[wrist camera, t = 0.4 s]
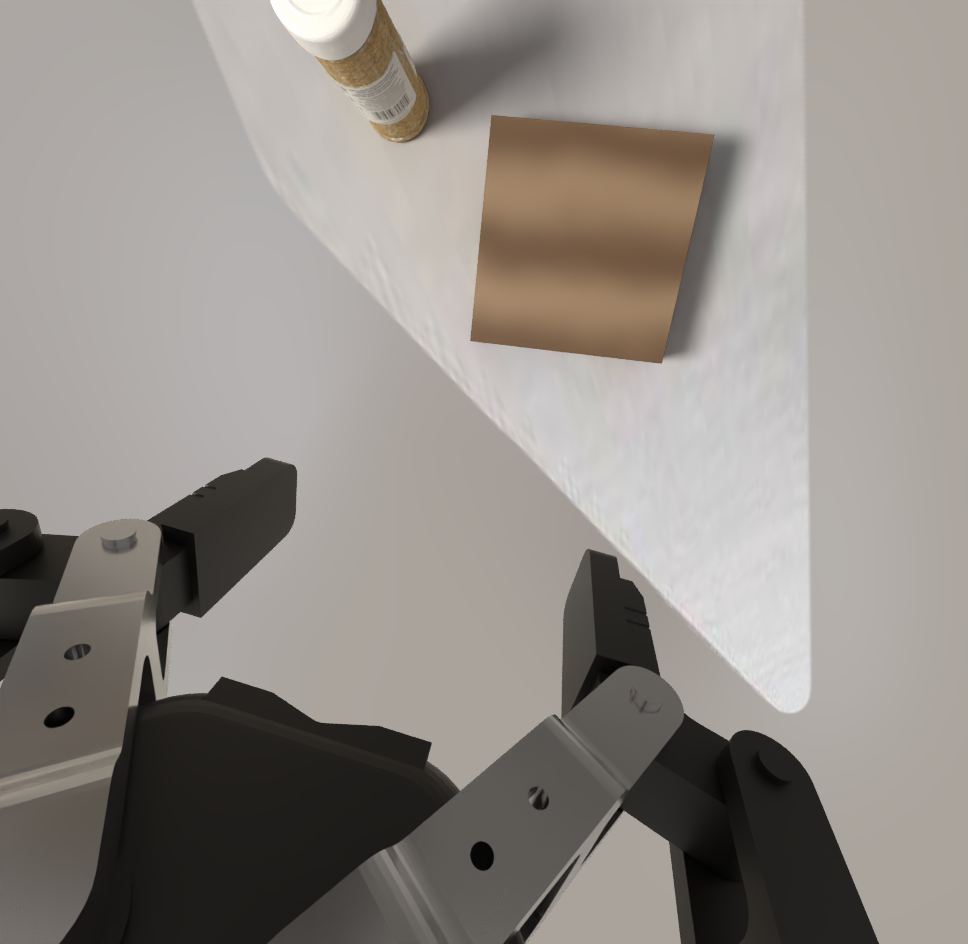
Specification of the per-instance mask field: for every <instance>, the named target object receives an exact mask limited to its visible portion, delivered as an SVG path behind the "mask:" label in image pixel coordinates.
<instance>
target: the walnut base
mask: <svg viewBox="0 0 968 944" xmlns="http://www.w3.org/2000/svg"><path fill="white" fill-rule="evenodd" d="M713 139H714V135H711V134H700V133H689V132H677V131H666V130H654V129H643V128H631V127H620V126H609V125H597V124H586V123H574V122H563V121H551V120H540V119H529V118H517V117H506V116H494V115H492V116H491V127H490V138H489V148H488V159H487V170H486V180H485V191H484V202H483V212H482V223H481V234H480V244H479V255H478V266H477V276H476V287H475V298H474V308H473V319H472V330H471V340H470V341H475V342H483V343H492V344H500V345H509V346H517V347H526V348H534V349H543V350H551V351H560V352H568V353H577V354H585V355H594V356H602V357H611V358H619V359H628V360H636V361H644V362H653V363H661V364H662V360H663V356H664V352H665V347H666V343H667V339H668V334H669V330H670V326H671V321H672V317H673V313H674V308H675V304H676V300H677V295H678V291H679V287H680V282H681V278H682V274H683V269H684V265H685V261H686V256H687V252H688V248H689V243H690V239H691V235H692V230H693V226H694V222H695V217H696V213H697V209H698V204H699V200H700V196H701V191H702V187H703V183H704V178H705V174H706V170H707V165H708V161H709V157H710V152H711V148H712V144H713Z"/></svg>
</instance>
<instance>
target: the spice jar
mask: <svg viewBox="0 0 968 944" xmlns="http://www.w3.org/2000/svg"><path fill="white" fill-rule="evenodd" d="M270 2H271V4H272V6H273V8H274V11H275V13H276V14H277V16H278V18H279V19H280V21H281V22H282V23H283V25H284V26H285V27H286V28H287V30H288V31H289V32H290V33H291V35H292V36H293V37H294V38H295V39H296V40H297V42H298V43H299V44H300V45H301V46H302V47H303V48H304V49H305V50H307V51H308V52H309V53H311V54H313V55H314V56H315V57H316V58H317V59H318V61H319V62H320V63H321V64H322V65H323V67H324V68H325V70H326V71H327V73H328V74H329V75H330V77H331V78H332V79H333V80H334V81H335V83H336V84H337V85H338V86H339V87H340V88H341V90H342V91H343V92H344V93H345V94H346V95H347V96H348V98H349V99H350V100H351V101H352V102H353V103H354V105H355V106H356V107H357V108H358V109H359V111H360V112H361V113H362V114H363V115H364V116H365V117H366V118H368V120H369V121H370V123H371V125H372V126H373V128H374V129H375V131H376V132H377V133H379V134H380V135H381V136H382V137H383V138H385V139H387V140H389V141H392V142H397V143H399V142H405V141H408V140H410V139H412V138H414V137H415V136H416V135H417V134H418V133H419V132H420V131H421V130H422V128H423V127H424V125H425V122H426V120H427V116H428V112H429V98H428V92H427V90H426V87H425V85H424V82H423V80H422V78H421V77H420V76H419V75H418V74H417V72H416V69H415V66H414V63H413V61H412V59H411V57H410V55H409V53H408V51H407V49H406V46H405V45H404V43H403V41H402V39H401V37H400V35H399V33H398V32H397V30H396V29H395V27H394V25H393V23H392V21H391V19H390V17H389V15H388V13H387V11H386V9H385V7H384V5H383V3H382V0H270Z"/></svg>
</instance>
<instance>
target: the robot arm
mask: <svg viewBox="0 0 968 944" xmlns="http://www.w3.org/2000/svg"><path fill="white" fill-rule="evenodd" d="M296 488H297V470H296V467H295V466H294V465H292V464H288V463H285V462H281V461H277V460H274V459H271V458H263V459H261V460H260V461H258V462H257V463H255V464H254V465H252V466H251V467H249V468H247V469H246V470H242V469H241V470H238V471H235V472H231V473H228V474H224V475H221V476H220V477H218V478H216V479H214V480H213V481H211V482H209V483H208V484H206V486H205V487H201V488H200V489H198V490H196V491H195V492H193V494H192V495H188V496H187V497H185V498H183V499H182V500H180V501H178V502H177V503H175V504H174V505H172V506H170V507H169V508H167V509H165V510H164V511H162V512H161V513H159V514H157V515H156V516H154V517H152V518H151V519H149V520H147V521H145V520H139V519H121V520H115V521H109V522H106V523H102V524H99V525H96V526H94V527H92V528H90V529H88V530H86V531H85V532H83V533H82V534H81V535H80V536H66V535H50V534H41V530H40V526H39V522H38V519H37V517H36V516H35V515H33V514H32V513H30V512H26V511H23V510H15V509H0V681H1V680H3V679H4V680H3V682H2V685H1V688H0V944H526V943H527V942H528V941H529V940H530V938H531V937H532V936H533V934H534V933H535V932H536V930H537V929H538V928H539V926H540V925H541V924H542V922H543V921H544V920H545V918H546V917H547V916H548V914H549V913H550V912H551V910H552V909H553V907H554V906H555V904H556V903H557V902H558V900H559V899H560V898H561V896H562V895H563V893H564V892H565V890H566V889H567V887H568V886H569V884H570V883H571V882H572V880H573V879H574V878H575V876H576V875H577V874H578V872H579V871H580V870H581V868H582V867H583V866H584V864H585V863H586V862H587V861H588V859H589V858H590V857H591V855H592V854H593V853H594V851H595V850H596V849H597V847H598V846H599V845H600V843H601V842H602V841H603V839H604V838H605V837H606V835H607V834H608V833H609V831H610V830H611V829H612V827H613V826H614V825H615V824H616V822H617V821H618V820H619V818H620V817H621V816H622V815H623V813H624V812H625V811H626V812H627V813H628V814H630V815H631V816H633V817H634V818H636V819H637V820H639V821H640V822H642V823H643V824H644V825H646V826H647V827H649V828H650V829H652V830H653V831H655V832H656V833H658V834H659V835H660V836H662V837H663V838H665V839H666V840H668V841H669V844H670V854H671V862H672V870H673V879H674V887H675V895H676V904H677V913H678V921H679V930H680V938H681V944H879V943H878V941H877V938H876V935H875V933H874V930H873V928H872V925H871V923H870V921H869V918H868V916H867V914H866V911H865V908H864V906H863V904H862V901H861V899H860V896H859V894H858V891H857V889H856V887H855V884H854V882H853V879H852V877H851V874H850V872H849V870H848V867H847V865H846V862H845V860H844V858H843V855H842V853H841V850H840V848H839V845H838V843H837V840H836V838H835V835H834V833H833V831H832V828H831V826H830V824H829V821H828V819H827V816H826V814H825V811H824V809H823V806H822V804H821V802H820V799H819V797H818V794H817V792H816V790H815V787H814V785H813V782H812V780H811V778H810V776H809V775H808V773H807V771H806V770H805V769H804V767H803V766H802V765H801V763H800V762H799V761H798V760H797V759H796V758H795V757H794V756H793V755H792V754H791V753H790V752H789V751H788V750H787V749H786V748H784V747H783V746H782V745H781V744H779V743H778V742H776V741H775V740H773V739H772V738H770V737H768V736H766V735H764V734H761V733H759V732H755V731H750V730H743V731H739V732H737V733H735V734H734V735H733V736H732V738H731V739H730V740H729V741H728V740H726V739H724V738H723V737H721V736H719V735H718V734H716V733H714V732H713V731H711V730H709V729H707V728H705V727H704V726H702V725H700V724H699V723H697V722H696V721H694V720H693V719H691V718H690V717H688V716H687V715H686V714H685V713H684V710H683V705H682V703H681V700H680V698H679V697H678V695H677V693H676V692H675V691H674V689H673V688H672V687H671V686H670V685H669V684H668V683H667V682H666V681H665V680H664V679H663V678H661V677H660V673H659V668H658V663H657V659H656V654H655V650H654V645H653V640H652V636H651V631H650V629H649V622H648V617H647V616H646V613H647V612H646V608H645V603H644V599H643V596H642V595H641V594H640V592H639V591H638V589H637V588H636V586H635V585H634V583H633V582H632V581H629V580H625V579H622V578H620V575H619V569H618V563H617V558H616V557H615V556H611V555H608V554H605V553H601V552H597V551H594V550H590V549H587V550H586V552H585V553H584V556H583V558H582V561H581V563H580V566H579V569H578V571H577V574H576V576H575V579H574V581H573V584H572V586H571V589H570V592H569V594H568V597H567V600H566V605H565V610H564V619H563V622H564V623H563V667H562V717H561V719H559V718H558V717H557V716H556V715H551V716H549V717H548V718H546V719H545V720H544V721H542V722H541V723H540V724H539V725H538V726H536V727H535V728H534V729H533V730H532V731H531V732H530V733H528V734H527V735H526V736H525V737H523V738H522V739H521V740H520V741H519V742H518V743H516V744H515V745H514V746H513V747H512V748H511V749H509V750H508V751H507V752H506V753H505V754H503V755H502V756H501V757H500V758H499V759H498V760H496V761H495V762H494V763H493V764H492V765H490V766H489V767H488V768H487V769H486V770H485V771H483V772H482V773H481V774H480V775H479V776H478V777H476V778H475V779H474V780H473V781H472V782H470V783H469V784H468V785H467V786H466V787H465V788H464V789H462V790H461V791H459V789H458V788H457V787H456V785H455V784H454V783H453V782H452V781H451V780H450V779H449V778H448V777H447V776H446V775H445V774H444V773H443V772H441V771H440V770H439V769H438V768H437V767H435V766H434V765H432V764H431V763H429V762H428V761H427V759H428V755H429V751H430V748H431V742H428V741H425V740H422V739H419V738H415V737H412V736H409V735H406V734H403V733H400V732H396V731H393V730H390V729H387V728H383V727H380V726H367V725H348V724H329V723H319V722H317V721H314V720H313V719H311V718H310V717H308V716H307V715H305V714H304V713H302V712H301V711H299V710H298V709H296V708H295V707H293V706H292V705H290V704H289V703H287V702H286V701H284V700H283V699H281V698H280V697H278V696H277V695H275V694H274V693H272V692H269V691H266V690H263V689H260V688H257V687H253V686H250V685H247V684H244V683H241V682H237V681H234V680H231V679H228V678H225V677H221V678H220V679H219V681H218V682H217V683H216V684H215V685H214V687H213V688H212V689H211V690H210V691H209V693H198V694H197V693H196V694H185V695H178V696H172V697H168V698H167V689H168V677H169V665H170V653H171V641H172V619H173V618H174V617H175V616H176V615H177V614H178V613H180V612H183V613H187V614H190V615H193V616H197V617H200V618H201V617H202V616H203V615H204V614H206V613H207V611H209V609H211V608H212V607H213V606H214V605H215V604H216V603H217V602H218V601H219V600H220V599H221V598H222V597H223V596H224V595H225V594H226V593H227V592H228V591H229V590H230V589H231V588H233V587H234V586H235V585H236V584H237V582H239V581H240V580H241V579H242V578H243V577H244V576H245V575H246V574H247V573H248V572H249V571H250V570H251V569H252V568H253V567H254V566H255V565H256V564H257V563H258V562H259V561H260V560H262V559H263V557H265V556H266V555H267V554H268V553H269V552H270V551H271V550H272V549H273V548H274V547H275V546H276V545H277V544H278V543H279V542H280V541H281V540H282V539H283V538H284V537H285V536H286V535H287V534H288V533H289V531H290V529H291V527H292V525H293V523H294V519H295V514H296Z"/></svg>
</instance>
